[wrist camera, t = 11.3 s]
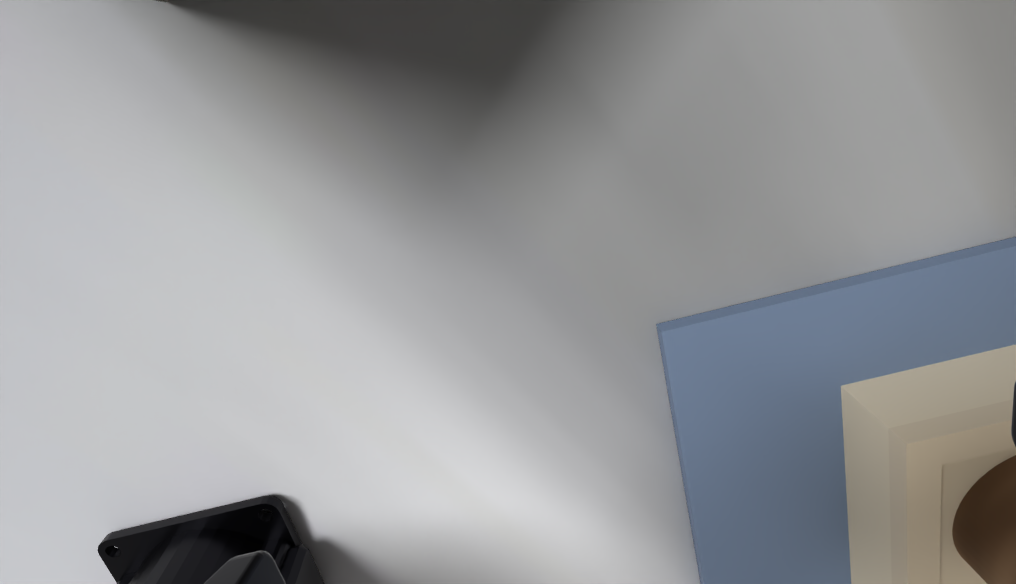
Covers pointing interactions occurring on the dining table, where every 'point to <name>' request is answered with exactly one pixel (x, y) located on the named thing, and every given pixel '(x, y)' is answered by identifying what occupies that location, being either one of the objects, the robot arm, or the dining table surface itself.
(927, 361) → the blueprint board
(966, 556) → the walnut column
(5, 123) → the dining table surface
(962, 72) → the dining table surface
